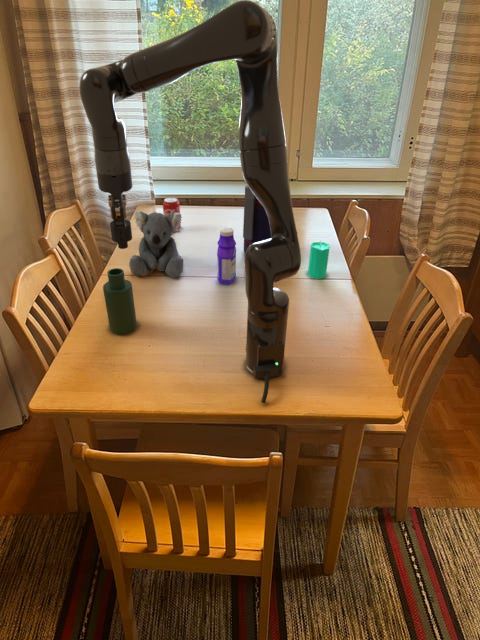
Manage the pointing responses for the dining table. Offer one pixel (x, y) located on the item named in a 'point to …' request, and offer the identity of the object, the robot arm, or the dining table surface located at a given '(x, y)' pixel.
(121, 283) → the green bottle
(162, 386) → the dining table surface
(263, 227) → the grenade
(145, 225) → the koala plush
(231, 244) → the bottle
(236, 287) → the dining table surface
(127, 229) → the cylinder
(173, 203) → the beverage can
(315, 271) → the candle
